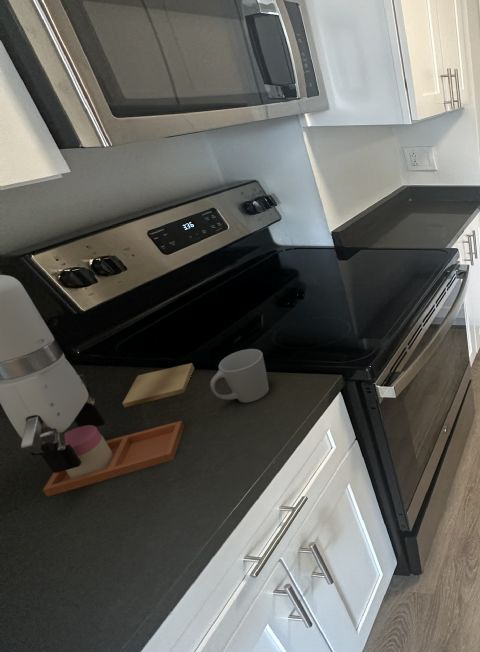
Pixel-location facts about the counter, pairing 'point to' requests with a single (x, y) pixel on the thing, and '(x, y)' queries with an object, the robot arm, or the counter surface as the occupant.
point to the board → (159, 385)
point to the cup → (243, 376)
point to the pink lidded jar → (88, 450)
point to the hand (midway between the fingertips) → (81, 446)
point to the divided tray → (126, 457)
